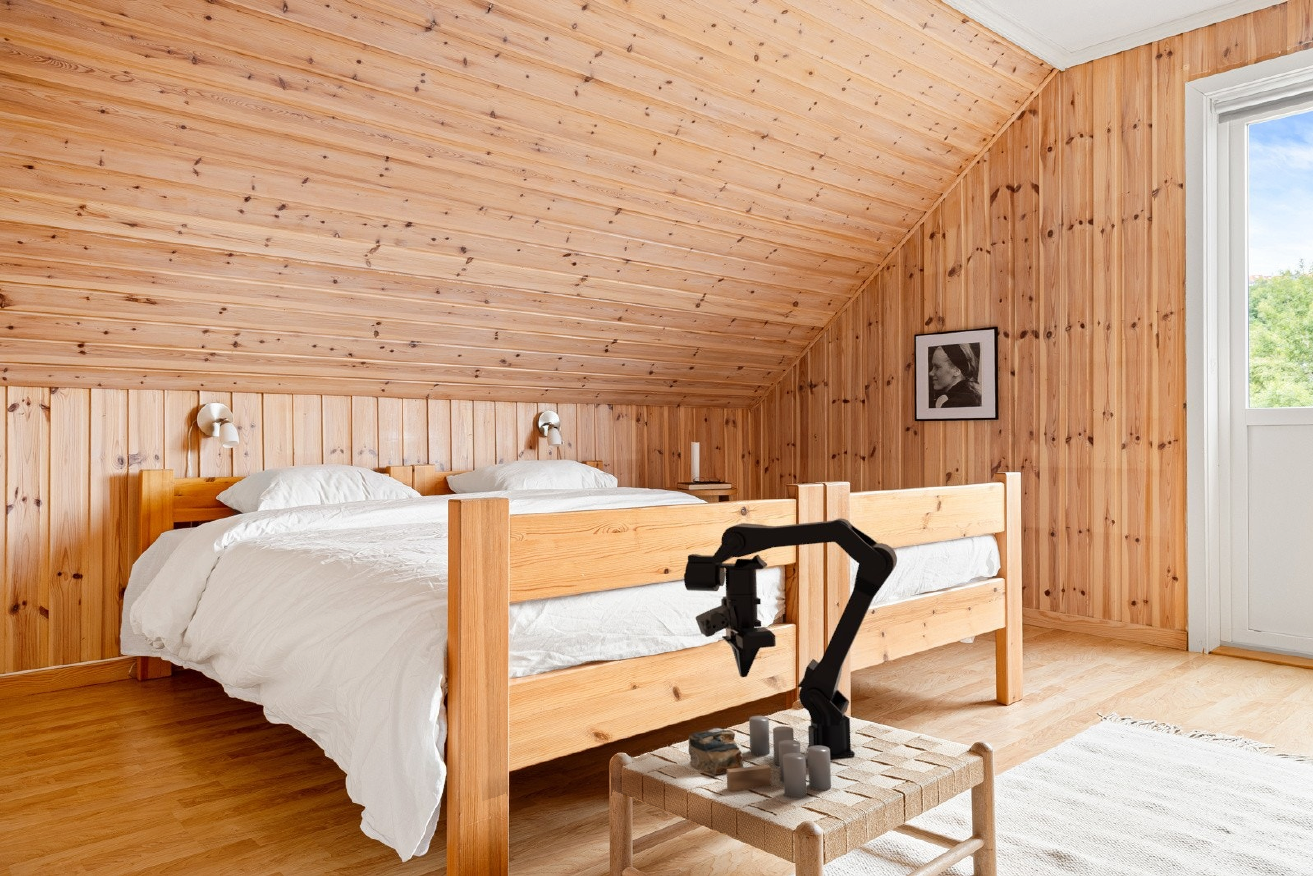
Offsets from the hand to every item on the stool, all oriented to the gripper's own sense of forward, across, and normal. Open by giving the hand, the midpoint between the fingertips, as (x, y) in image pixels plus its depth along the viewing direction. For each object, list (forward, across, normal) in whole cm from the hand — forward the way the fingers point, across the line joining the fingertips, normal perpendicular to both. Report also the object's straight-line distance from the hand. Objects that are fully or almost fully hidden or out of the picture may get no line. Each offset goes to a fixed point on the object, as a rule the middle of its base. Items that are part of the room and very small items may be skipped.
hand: (743, 676), depth 166 cm
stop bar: (+13, +19, -6) cm, 24 cm away
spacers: (+13, +15, +2) cm, 19 cm away
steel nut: (+13, +13, +8) cm, 20 cm away
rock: (+13, +8, -8) cm, 17 cm away
